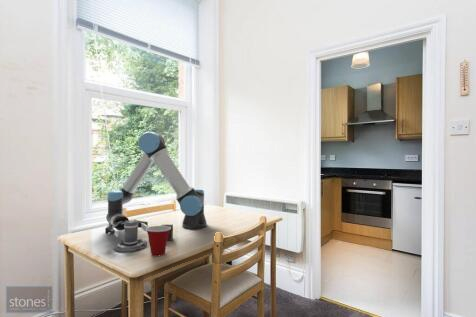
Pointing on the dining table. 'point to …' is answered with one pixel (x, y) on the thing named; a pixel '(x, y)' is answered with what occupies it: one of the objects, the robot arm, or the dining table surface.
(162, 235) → the plastic cup
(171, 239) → the box
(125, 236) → the lens
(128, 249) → the mount plate
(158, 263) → the dining table surface
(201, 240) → the dining table surface
